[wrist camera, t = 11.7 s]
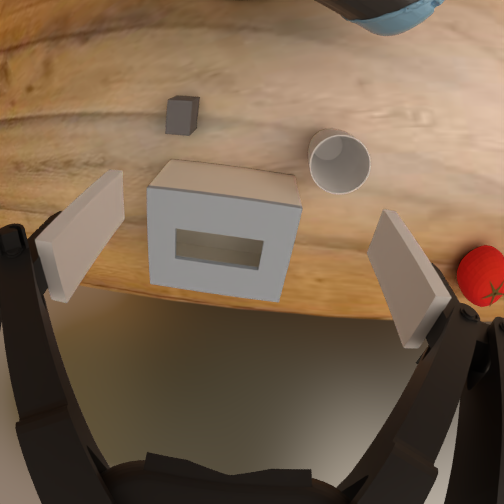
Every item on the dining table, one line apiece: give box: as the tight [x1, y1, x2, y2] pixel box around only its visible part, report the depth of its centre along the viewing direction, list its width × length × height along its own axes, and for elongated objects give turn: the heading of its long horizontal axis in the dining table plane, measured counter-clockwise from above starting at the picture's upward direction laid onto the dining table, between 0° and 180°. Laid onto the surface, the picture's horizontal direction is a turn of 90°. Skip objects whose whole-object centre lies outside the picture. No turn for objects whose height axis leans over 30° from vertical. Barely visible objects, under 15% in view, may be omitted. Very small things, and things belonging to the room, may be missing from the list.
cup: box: [308, 128, 371, 194], centre depth 43 cm, size 8×8×10 cm
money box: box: [147, 159, 302, 302], centre depth 49 cm, size 16×20×12 cm
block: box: [165, 96, 200, 136], centre depth 43 cm, size 5×4×5 cm
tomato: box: [457, 245, 504, 307], centre depth 53 cm, size 12×13×11 cm
